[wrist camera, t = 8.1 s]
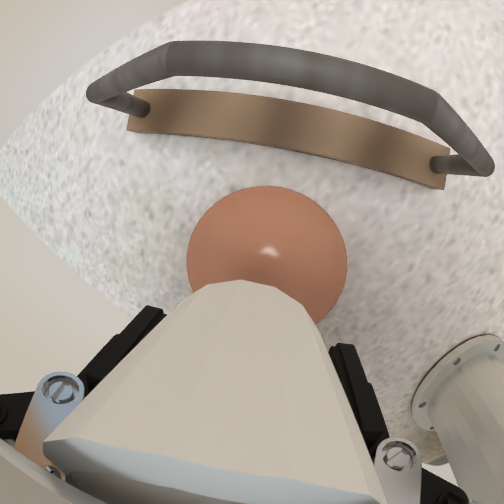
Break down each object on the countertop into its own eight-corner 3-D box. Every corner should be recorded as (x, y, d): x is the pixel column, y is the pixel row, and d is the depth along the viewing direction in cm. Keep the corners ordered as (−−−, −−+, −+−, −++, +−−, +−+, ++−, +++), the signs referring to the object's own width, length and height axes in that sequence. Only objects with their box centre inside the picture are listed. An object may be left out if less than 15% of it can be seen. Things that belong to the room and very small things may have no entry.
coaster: (371, 281, 20) (374, 285, 19) (251, 356, 22) (250, 361, 21) (283, 152, 18) (283, 152, 17) (161, 248, 21) (157, 251, 20)
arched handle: (439, 149, 16) (557, 144, 5) (434, 188, 17) (552, 212, 6) (144, 94, 18) (32, 45, 6) (136, 132, 18) (15, 110, 7)
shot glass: (243, 433, 11) (222, 568, 4) (120, 338, 10) (19, 466, 3) (373, 352, 9) (438, 517, 3) (240, 214, 9) (126, 360, 2)
